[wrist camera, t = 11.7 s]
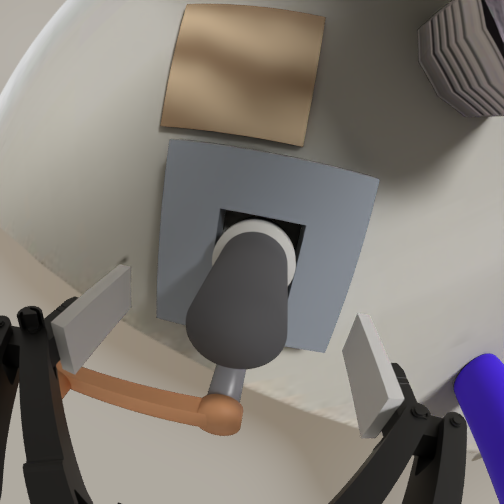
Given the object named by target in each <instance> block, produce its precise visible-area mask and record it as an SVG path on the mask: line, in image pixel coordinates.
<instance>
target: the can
mask: <svg viewBox="0 0 504 504" xmlns="http://www.w3.org/2000/svg"><path fill="white" fill-rule="evenodd" d="M417 33H418V61H419V64H420V65H421V67H422V69H423V70H424V72H425V74H426V76H427V77H428V79H429V81H430V83H431V85H432V86H433V88H434V90H435V92H436V94H437V96H438V97H440V98H441V99H442V100H444V101H445V102H447V103H448V104H449V105H451V106H452V107H453V108H454V109H456V110H457V111H458V112H460V113H461V114H462V115H463V116H465V117H478V116H487V117H490V116H504V0H452V1H451V2H450V3H448V4H447V5H446V6H444V7H443V8H442V9H441V10H439V11H438V12H437V13H435V14H434V15H433V16H432V17H431V18H430V19H429V20H428V21H427V22H426V23H425V24H424V25H423V26H421V27H420V28H419V29H418V30H417Z"/></svg>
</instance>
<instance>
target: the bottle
mask: <svg viewBox="0 0 504 504" xmlns="http://www.w3.org/2000/svg"><path fill="white" fill-rule="evenodd" d="M454 392H455V395H456V398H457V400H458V402H459V405H460V407H461V409H462V411H463V414H464V416H465V418H466V420H467V423H468V425H469V427H470V430H471V432H472V434H473V436H474V439H475V441H476V444H477V446H478V448H479V451H480V453H481V456H482V458H483V461H484V463H485V466H486V468H487V471H488V473H489V476H490V478H491V481H492V484H493V486H494V489H495V492H496V495H497V498H498V500H499V503H500V504H504V364H503V363H502V362H501V361H500V360H499V359H498V358H497V357H496V356H495V355H494V354H483V355H480V356H478V357H476V358H475V359H473V360H472V361H471V362H469V363H468V364H467V365H466V366H465V367H464V368H463V369H462V370H461V372H460V373H459V375H458V376H457V378H456V380H455V383H454Z"/></svg>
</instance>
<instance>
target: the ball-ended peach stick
mask: <svg viewBox="0 0 504 504" xmlns="http://www.w3.org/2000/svg"><path fill="white" fill-rule="evenodd" d="M56 367H57V371H58V378H59V385H60V391H61V397H62V399H63V398H64V396H65V395H66V394H67V392H68V391H69V390H70V389H72V390H74V391H77V392H79V393H82V394H84V395H87V396H90V397H92V398H95V399H98V400H101V401H104V402H107V403H109V404H113V405H116V406H119V407H122V408H125V409H129V410H132V411H135V412H139V413H142V414H146V415H150V416H153V417H157V418H161V419H165V420H169V421H174V422H178V423H183V424H188V425H192V426H198V427H200V428H201V429H202V430H204V431H206V432H208V433H211V434H214V435H219V436H229V435H233V434H235V433H237V432H238V431H239V430H240V427H241V421H242V416H243V407H242V405H241V404H240V403H239V402H238V401H237V400H235V399H234V398H232V397H229V396H226V395H222V394H209V395H206V396H204V397H203V398H200V397H195V396H189V395H184V394H179V393H175V392H170V391H165V390H161V389H157V388H152V387H148V386H144V385H141V384H137V383H133V382H129V381H125V380H122V379H119V378H115V377H111V376H108V375H105V374H102V373H99V372H96V371H93V370H89V369H87V368H84V367H81V368H80V369H79V371H78V372H77V373H76V374H75V375H74V374H72V373H70V372H68V371H66V370H64V369H63V368H62V365H61V362H60V361H59V362H58V363H57V364H56Z"/></svg>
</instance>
